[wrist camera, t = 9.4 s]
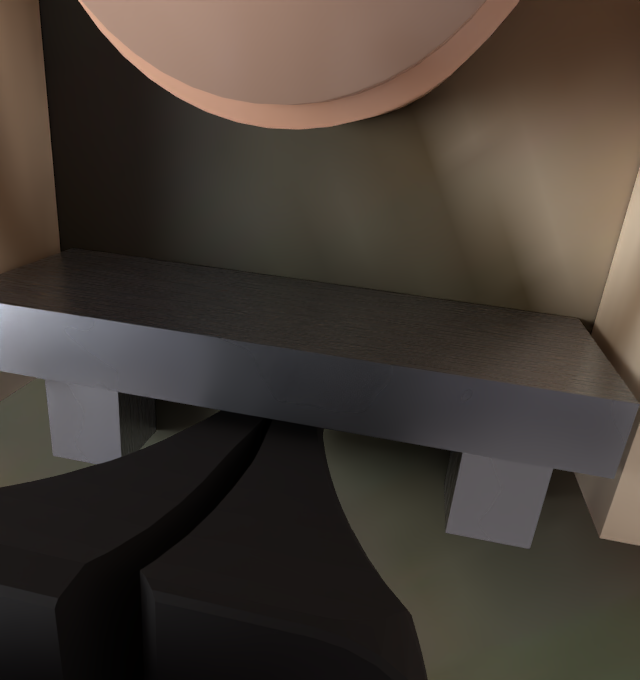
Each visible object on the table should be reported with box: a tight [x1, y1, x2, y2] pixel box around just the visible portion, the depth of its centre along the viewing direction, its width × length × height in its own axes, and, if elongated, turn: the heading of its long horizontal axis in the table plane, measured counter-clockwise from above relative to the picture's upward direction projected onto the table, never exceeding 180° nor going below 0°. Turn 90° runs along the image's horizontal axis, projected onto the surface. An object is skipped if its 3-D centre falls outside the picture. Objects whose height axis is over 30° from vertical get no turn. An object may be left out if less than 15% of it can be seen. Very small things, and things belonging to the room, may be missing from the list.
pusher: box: [0, 248, 640, 549], centre depth 11 cm, size 4×10×4 cm, turn 85°
